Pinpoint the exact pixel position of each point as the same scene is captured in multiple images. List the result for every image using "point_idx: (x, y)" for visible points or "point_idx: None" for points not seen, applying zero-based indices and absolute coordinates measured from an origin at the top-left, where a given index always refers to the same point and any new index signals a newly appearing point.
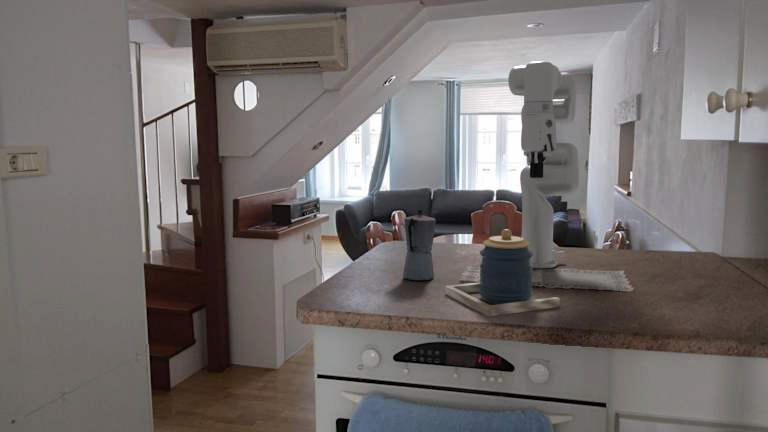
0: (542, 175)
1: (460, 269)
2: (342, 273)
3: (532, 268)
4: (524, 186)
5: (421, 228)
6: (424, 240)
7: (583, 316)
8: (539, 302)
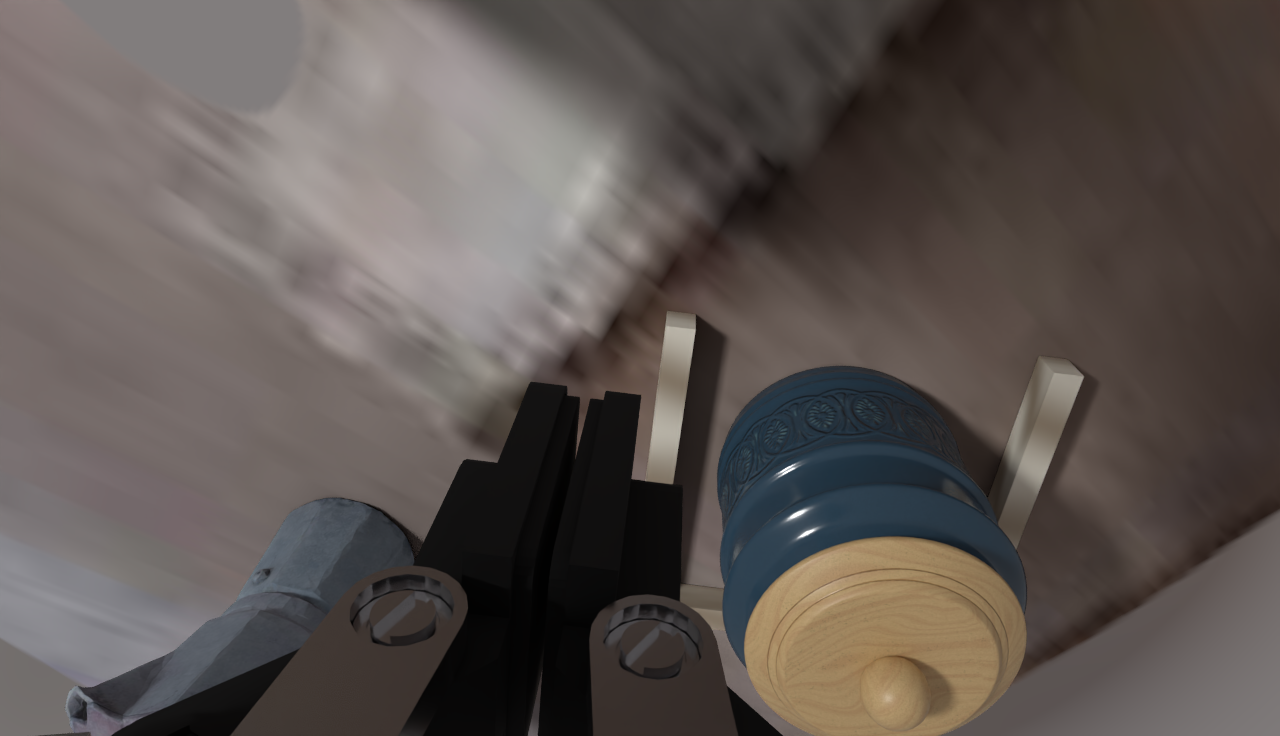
0: (637, 419)
1: (236, 299)
2: None
3: (983, 493)
4: None
5: None
6: None
7: (1222, 374)
8: (1044, 468)
